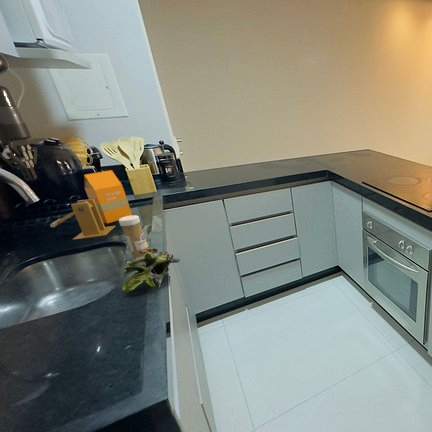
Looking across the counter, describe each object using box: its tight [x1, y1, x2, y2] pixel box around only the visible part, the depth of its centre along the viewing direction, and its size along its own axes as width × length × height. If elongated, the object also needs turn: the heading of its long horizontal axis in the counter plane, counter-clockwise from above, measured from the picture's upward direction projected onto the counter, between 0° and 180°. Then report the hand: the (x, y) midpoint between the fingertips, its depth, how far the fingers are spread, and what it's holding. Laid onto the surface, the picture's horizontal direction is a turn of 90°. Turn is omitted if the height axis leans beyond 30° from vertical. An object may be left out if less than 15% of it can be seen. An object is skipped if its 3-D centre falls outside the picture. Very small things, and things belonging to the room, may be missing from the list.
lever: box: [49, 201, 92, 228], centre depth 102 cm, size 12×5×2 cm, turn 113°
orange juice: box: [83, 169, 133, 224], centre depth 117 cm, size 8×9×20 cm
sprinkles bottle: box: [118, 214, 150, 261], centre depth 88 cm, size 5×5×13 cm
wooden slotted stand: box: [70, 198, 116, 241], centre depth 105 cm, size 9×9×13 cm
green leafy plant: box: [121, 247, 181, 294], centre depth 76 cm, size 11×11×12 cm
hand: (31, 179), depth 93 cm, fingers closed
